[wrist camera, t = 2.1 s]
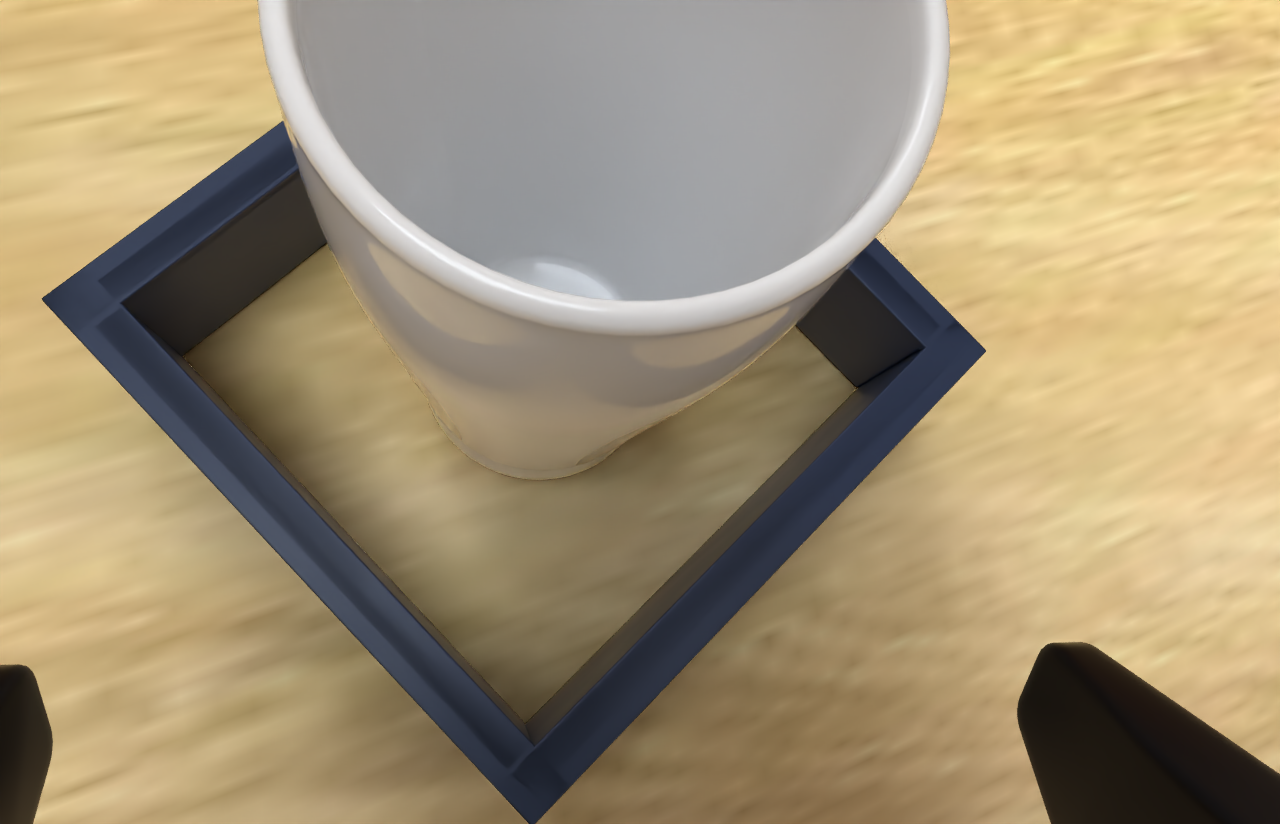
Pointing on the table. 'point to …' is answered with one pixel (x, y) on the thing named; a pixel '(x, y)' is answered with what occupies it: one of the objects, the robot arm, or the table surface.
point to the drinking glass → (597, 190)
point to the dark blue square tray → (354, 584)
